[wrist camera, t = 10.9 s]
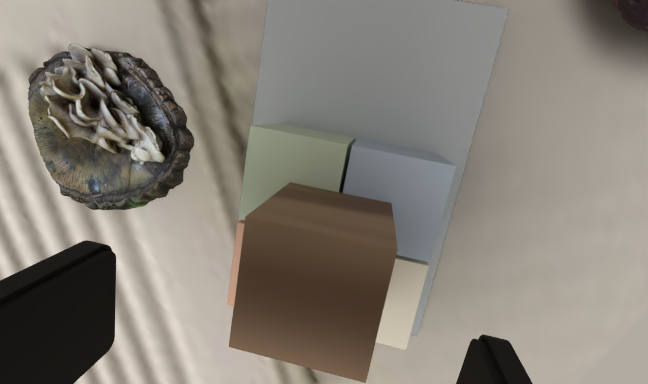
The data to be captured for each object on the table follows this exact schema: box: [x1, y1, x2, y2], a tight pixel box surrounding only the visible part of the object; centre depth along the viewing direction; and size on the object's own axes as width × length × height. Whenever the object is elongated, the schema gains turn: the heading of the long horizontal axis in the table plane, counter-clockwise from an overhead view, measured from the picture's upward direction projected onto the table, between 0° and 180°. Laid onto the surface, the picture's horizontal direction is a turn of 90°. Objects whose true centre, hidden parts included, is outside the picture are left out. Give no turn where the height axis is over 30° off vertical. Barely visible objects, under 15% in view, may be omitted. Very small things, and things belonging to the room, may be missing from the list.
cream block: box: [376, 255, 429, 350], centre depth 20 cm, size 5×5×5 cm
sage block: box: [238, 123, 355, 220], centre depth 20 cm, size 5×5×5 cm
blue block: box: [343, 139, 456, 262], centre depth 19 cm, size 5×5×5 cm
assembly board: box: [240, 0, 509, 337], centre depth 22 cm, size 20×13×1 cm, turn 170°
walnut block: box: [229, 182, 398, 383], centre depth 15 cm, size 5×5×6 cm
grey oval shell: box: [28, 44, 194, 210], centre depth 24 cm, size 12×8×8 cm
